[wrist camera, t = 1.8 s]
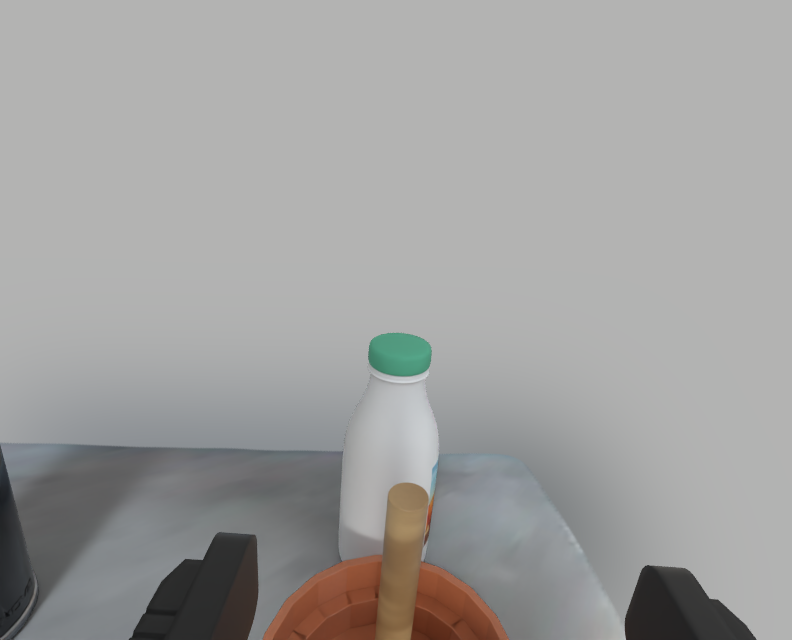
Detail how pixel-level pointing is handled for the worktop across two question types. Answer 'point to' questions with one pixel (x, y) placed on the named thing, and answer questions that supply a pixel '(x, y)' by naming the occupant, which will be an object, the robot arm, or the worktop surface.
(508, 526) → the worktop surface
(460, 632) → the bowl
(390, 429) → the milk bottle
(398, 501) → the stirring stick
